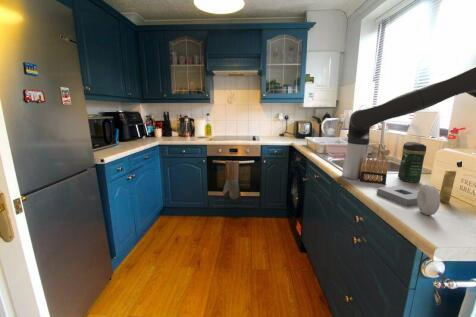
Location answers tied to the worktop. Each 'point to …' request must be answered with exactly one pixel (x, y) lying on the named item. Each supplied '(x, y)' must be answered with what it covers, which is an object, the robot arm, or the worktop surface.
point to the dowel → (447, 186)
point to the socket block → (399, 194)
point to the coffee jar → (412, 161)
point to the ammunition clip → (376, 172)
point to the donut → (428, 199)
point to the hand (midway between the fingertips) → (470, 167)
